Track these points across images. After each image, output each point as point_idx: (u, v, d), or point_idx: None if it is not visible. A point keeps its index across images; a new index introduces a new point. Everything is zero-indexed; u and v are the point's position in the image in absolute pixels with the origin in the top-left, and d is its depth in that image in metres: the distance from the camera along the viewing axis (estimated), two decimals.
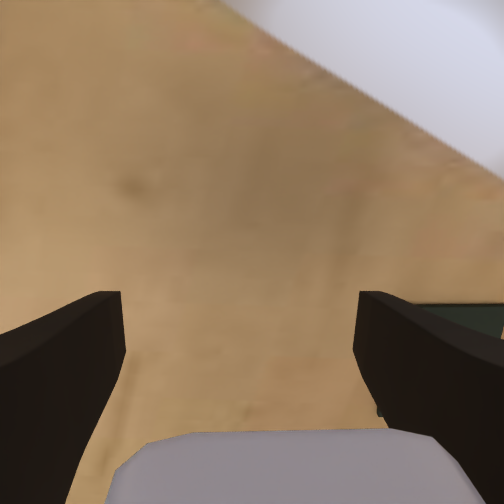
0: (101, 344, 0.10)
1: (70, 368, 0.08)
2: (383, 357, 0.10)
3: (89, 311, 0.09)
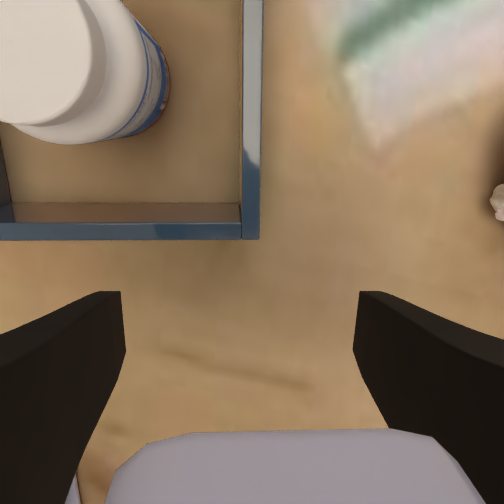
0: (101, 344, 0.10)
1: (70, 368, 0.08)
2: (383, 357, 0.10)
3: (89, 311, 0.09)
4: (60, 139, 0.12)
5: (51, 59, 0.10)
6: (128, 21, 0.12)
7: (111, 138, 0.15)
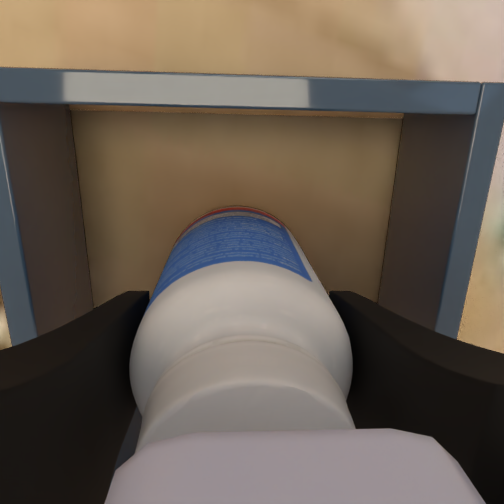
0: None
1: (110, 367, 0.08)
2: None
3: (125, 311, 0.09)
4: None
5: None
6: (347, 338, 0.09)
7: None
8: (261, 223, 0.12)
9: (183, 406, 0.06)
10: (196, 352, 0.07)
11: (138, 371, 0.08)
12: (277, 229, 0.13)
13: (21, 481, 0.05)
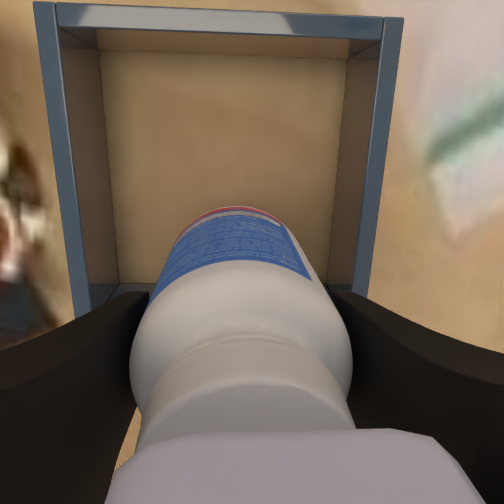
0: None
1: (110, 367, 0.08)
2: None
3: (125, 311, 0.09)
4: None
5: None
6: (347, 337, 0.09)
7: None
8: (261, 222, 0.12)
9: (182, 405, 0.06)
10: (196, 351, 0.07)
11: (138, 370, 0.08)
12: (277, 228, 0.13)
13: (21, 481, 0.05)
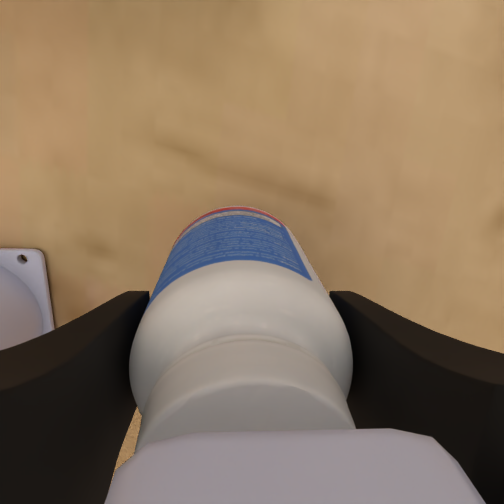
0: None
1: (110, 367, 0.08)
2: None
3: (125, 311, 0.09)
4: None
5: None
6: (348, 338, 0.09)
7: None
8: (261, 222, 0.12)
9: (182, 405, 0.06)
10: (196, 351, 0.07)
11: (138, 370, 0.08)
12: (277, 228, 0.13)
13: (21, 481, 0.05)
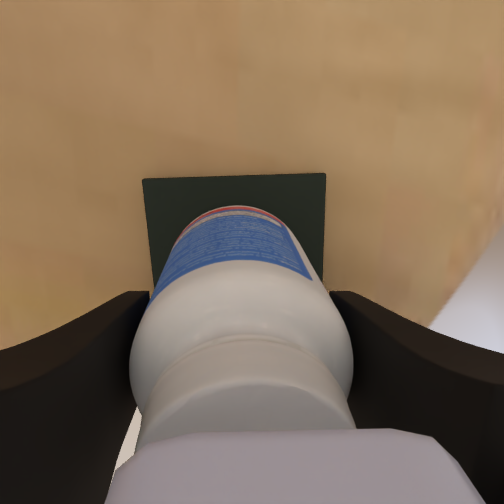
0: None
1: (110, 368, 0.08)
2: None
3: (125, 311, 0.09)
4: None
5: None
6: (348, 338, 0.09)
7: None
8: (261, 222, 0.12)
9: (182, 406, 0.06)
10: (196, 351, 0.07)
11: (138, 370, 0.08)
12: (277, 228, 0.13)
13: (21, 481, 0.05)
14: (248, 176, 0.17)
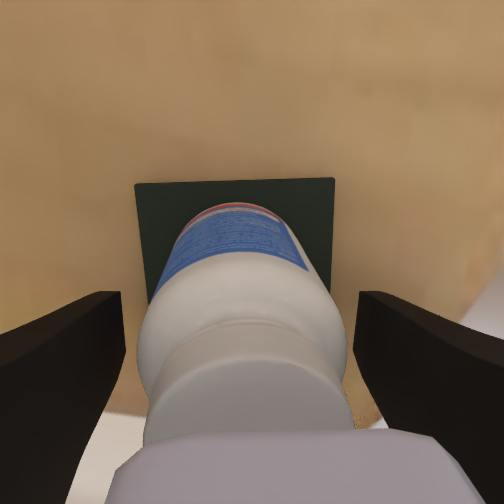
0: (101, 344, 0.10)
1: (70, 368, 0.08)
2: (383, 357, 0.10)
3: (89, 311, 0.09)
4: None
5: None
6: (342, 324, 0.09)
7: None
8: (261, 218, 0.13)
9: (189, 381, 0.06)
10: (201, 334, 0.08)
11: (145, 355, 0.09)
12: (276, 224, 0.13)
13: None
14: (250, 181, 0.15)
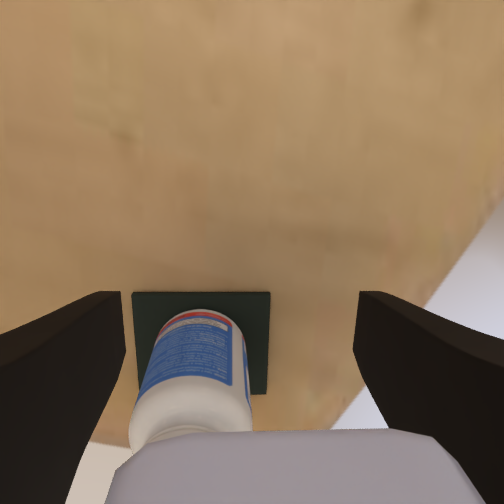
0: (101, 344, 0.10)
1: (70, 368, 0.08)
2: (383, 357, 0.10)
3: (89, 311, 0.09)
4: None
5: None
6: (248, 419, 0.16)
7: None
8: (213, 331, 0.20)
9: None
10: (163, 433, 0.14)
11: (133, 435, 0.16)
12: (223, 334, 0.20)
13: None
14: (211, 294, 0.22)
